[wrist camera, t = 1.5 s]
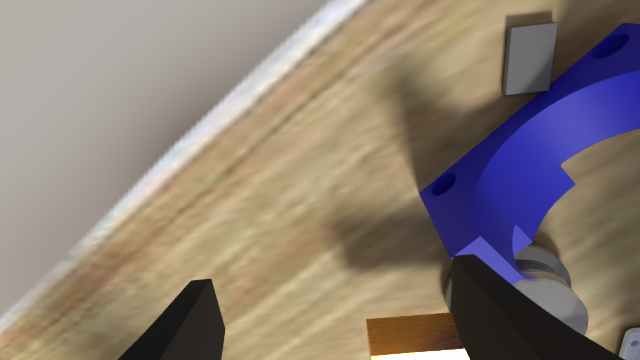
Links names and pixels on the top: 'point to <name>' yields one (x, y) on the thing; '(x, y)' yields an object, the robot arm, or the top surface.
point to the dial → (440, 330)
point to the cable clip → (535, 155)
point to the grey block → (529, 58)
